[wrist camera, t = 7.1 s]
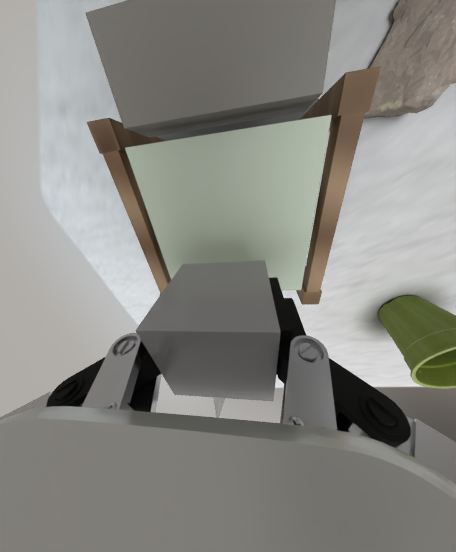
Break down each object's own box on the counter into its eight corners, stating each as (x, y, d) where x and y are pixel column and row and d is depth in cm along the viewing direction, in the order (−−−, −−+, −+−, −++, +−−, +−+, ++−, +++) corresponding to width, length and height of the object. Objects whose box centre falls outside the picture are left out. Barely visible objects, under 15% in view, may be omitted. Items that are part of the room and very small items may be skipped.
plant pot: (371, 335, 36) (416, 394, 26) (357, 300, 31) (406, 357, 21) (441, 317, 31) (526, 380, 22) (438, 273, 26) (544, 329, 17)
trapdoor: (111, 57, 10) (67, 18, 8) (336, 1, 8) (375, -74, 6) (181, 282, 19) (172, 298, 17) (295, 278, 17) (304, 296, 15)
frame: (167, 147, 21) (86, 122, 10) (304, 126, 18) (381, 65, 8) (193, 257, 29) (164, 305, 19) (290, 252, 27) (318, 304, 16)
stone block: (182, 264, 10) (135, 330, 6) (264, 260, 9) (280, 332, 5) (198, 320, 13) (174, 394, 8) (263, 320, 12) (273, 401, 8)
